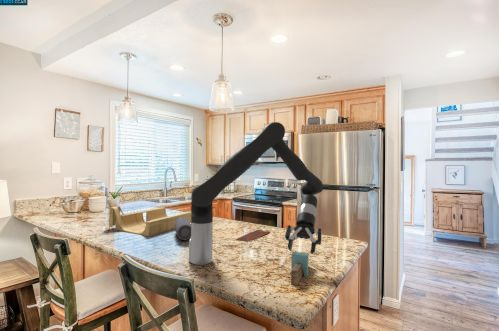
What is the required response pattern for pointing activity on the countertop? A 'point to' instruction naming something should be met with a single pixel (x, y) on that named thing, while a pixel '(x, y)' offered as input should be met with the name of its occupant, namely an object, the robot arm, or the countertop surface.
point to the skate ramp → (136, 224)
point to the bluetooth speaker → (183, 228)
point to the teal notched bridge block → (300, 261)
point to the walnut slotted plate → (296, 274)
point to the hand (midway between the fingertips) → (300, 251)
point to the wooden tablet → (253, 235)
